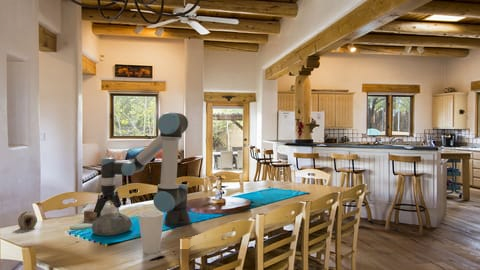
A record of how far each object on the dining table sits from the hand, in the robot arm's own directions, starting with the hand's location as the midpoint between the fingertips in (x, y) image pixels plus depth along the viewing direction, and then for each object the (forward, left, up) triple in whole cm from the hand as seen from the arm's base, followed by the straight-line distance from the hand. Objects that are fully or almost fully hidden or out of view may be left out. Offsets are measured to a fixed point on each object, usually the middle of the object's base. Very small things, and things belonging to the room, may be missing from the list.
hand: (108, 221), depth 203 cm
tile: (+18, -6, -2) cm, 19 cm away
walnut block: (+18, -6, -2) cm, 19 cm away
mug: (0, 0, -2) cm, 2 cm away
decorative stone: (-11, +10, -3) cm, 15 cm away
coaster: (+12, +8, -2) cm, 14 cm away
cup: (-49, +28, -3) cm, 57 cm away
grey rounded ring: (+38, +20, -3) cm, 43 cm away
